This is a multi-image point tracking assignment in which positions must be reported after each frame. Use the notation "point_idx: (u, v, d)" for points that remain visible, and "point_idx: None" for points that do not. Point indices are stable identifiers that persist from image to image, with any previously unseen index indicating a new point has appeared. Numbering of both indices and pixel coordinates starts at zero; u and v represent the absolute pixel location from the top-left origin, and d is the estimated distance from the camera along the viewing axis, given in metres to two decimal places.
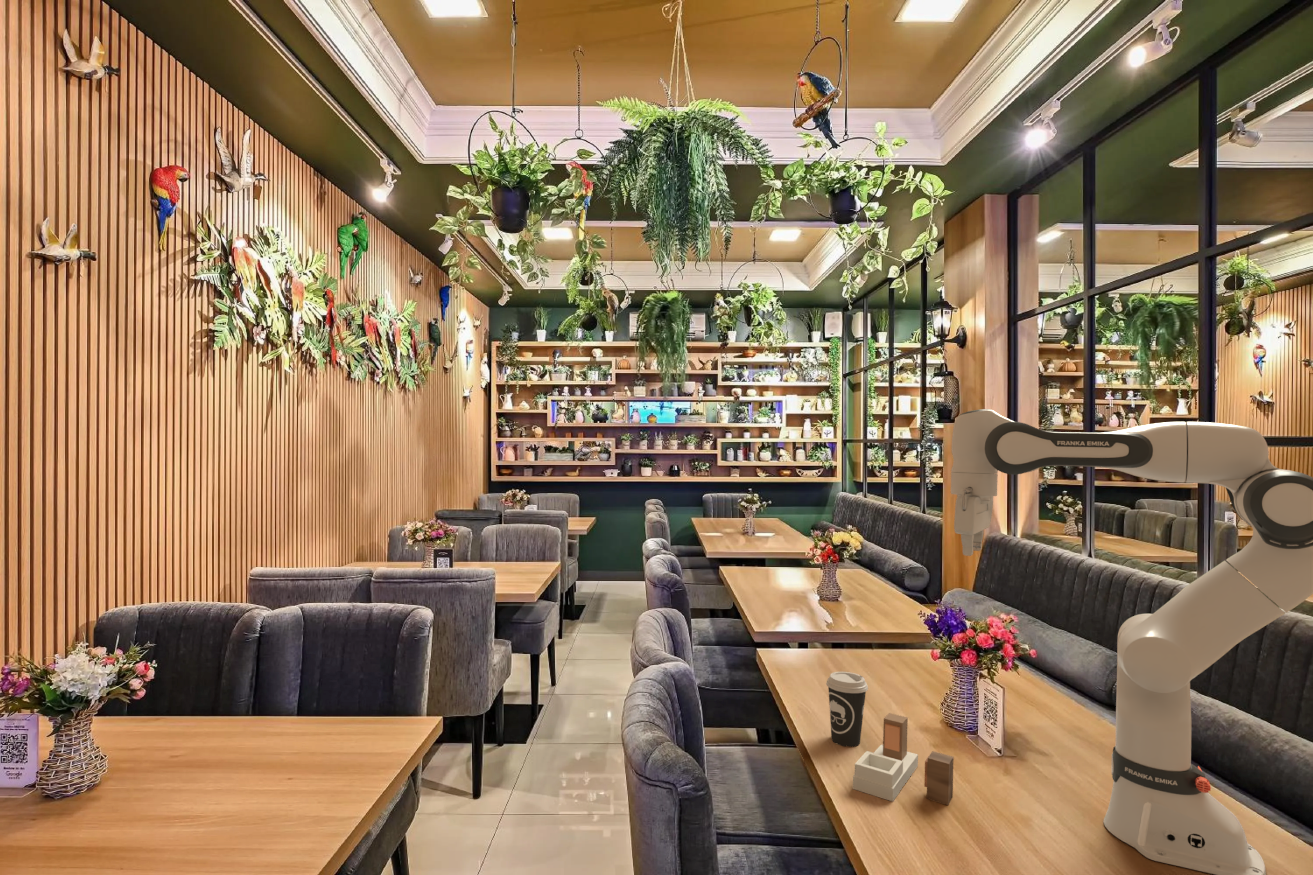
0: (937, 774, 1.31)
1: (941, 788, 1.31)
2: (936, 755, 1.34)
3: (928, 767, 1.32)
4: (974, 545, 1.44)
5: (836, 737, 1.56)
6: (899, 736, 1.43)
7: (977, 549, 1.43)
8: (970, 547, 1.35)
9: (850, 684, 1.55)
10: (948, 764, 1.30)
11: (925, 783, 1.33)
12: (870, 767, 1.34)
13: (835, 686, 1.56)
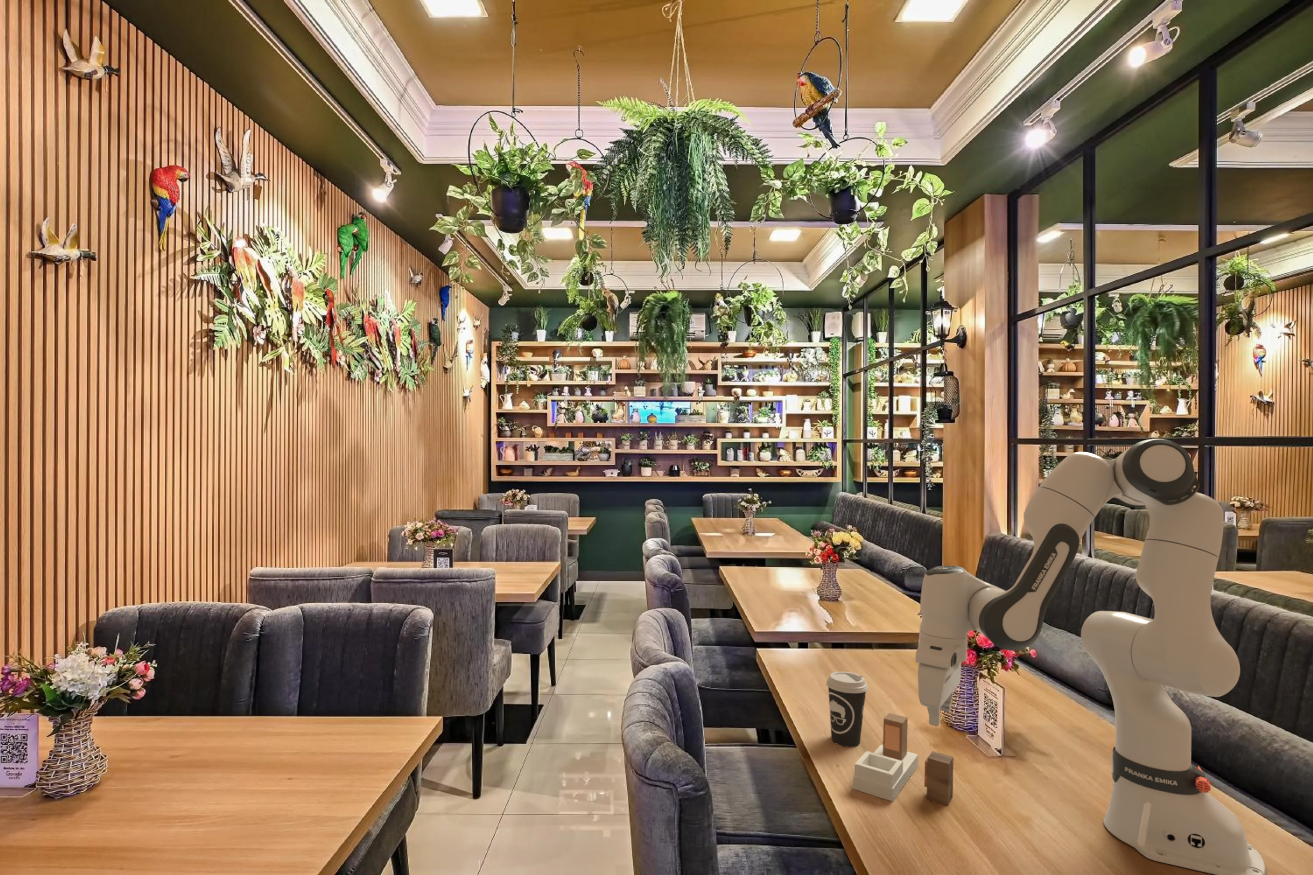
0: (937, 774, 1.31)
1: (941, 788, 1.31)
2: (936, 755, 1.34)
3: (928, 767, 1.32)
4: None
5: (836, 737, 1.56)
6: (899, 736, 1.43)
7: None
8: None
9: (850, 684, 1.55)
10: (948, 764, 1.30)
11: (925, 783, 1.33)
12: (870, 767, 1.34)
13: (835, 686, 1.56)
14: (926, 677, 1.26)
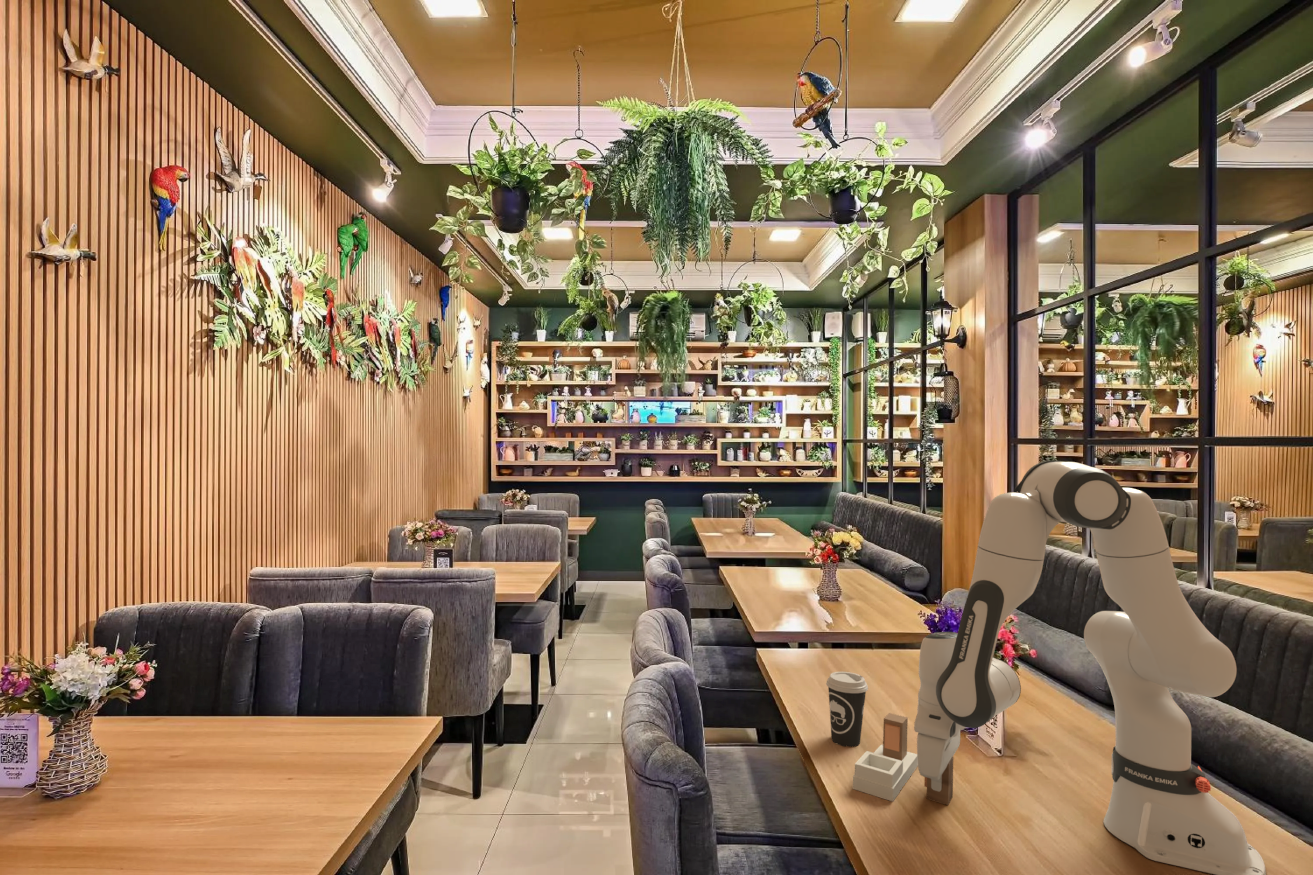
0: None
1: None
2: None
3: None
4: None
5: (836, 737, 1.56)
6: (899, 736, 1.43)
7: None
8: None
9: (850, 684, 1.55)
10: (948, 764, 1.30)
11: (925, 783, 1.33)
12: (870, 767, 1.34)
13: (835, 686, 1.56)
14: (926, 748, 1.26)
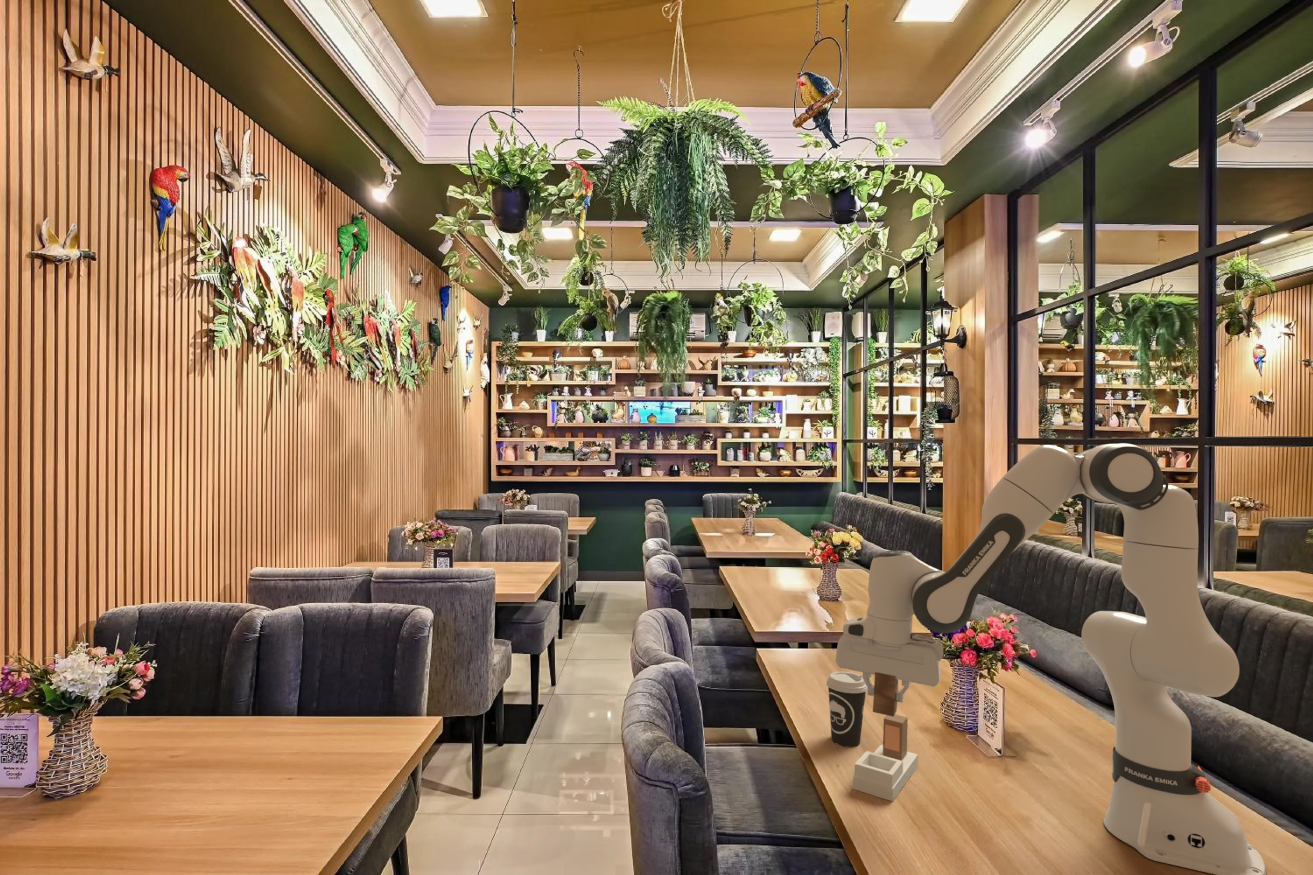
0: None
1: None
2: None
3: None
4: None
5: (836, 737, 1.56)
6: (899, 736, 1.43)
7: None
8: None
9: (850, 684, 1.55)
10: (875, 673, 1.36)
11: None
12: (870, 767, 1.34)
13: (835, 686, 1.56)
14: None
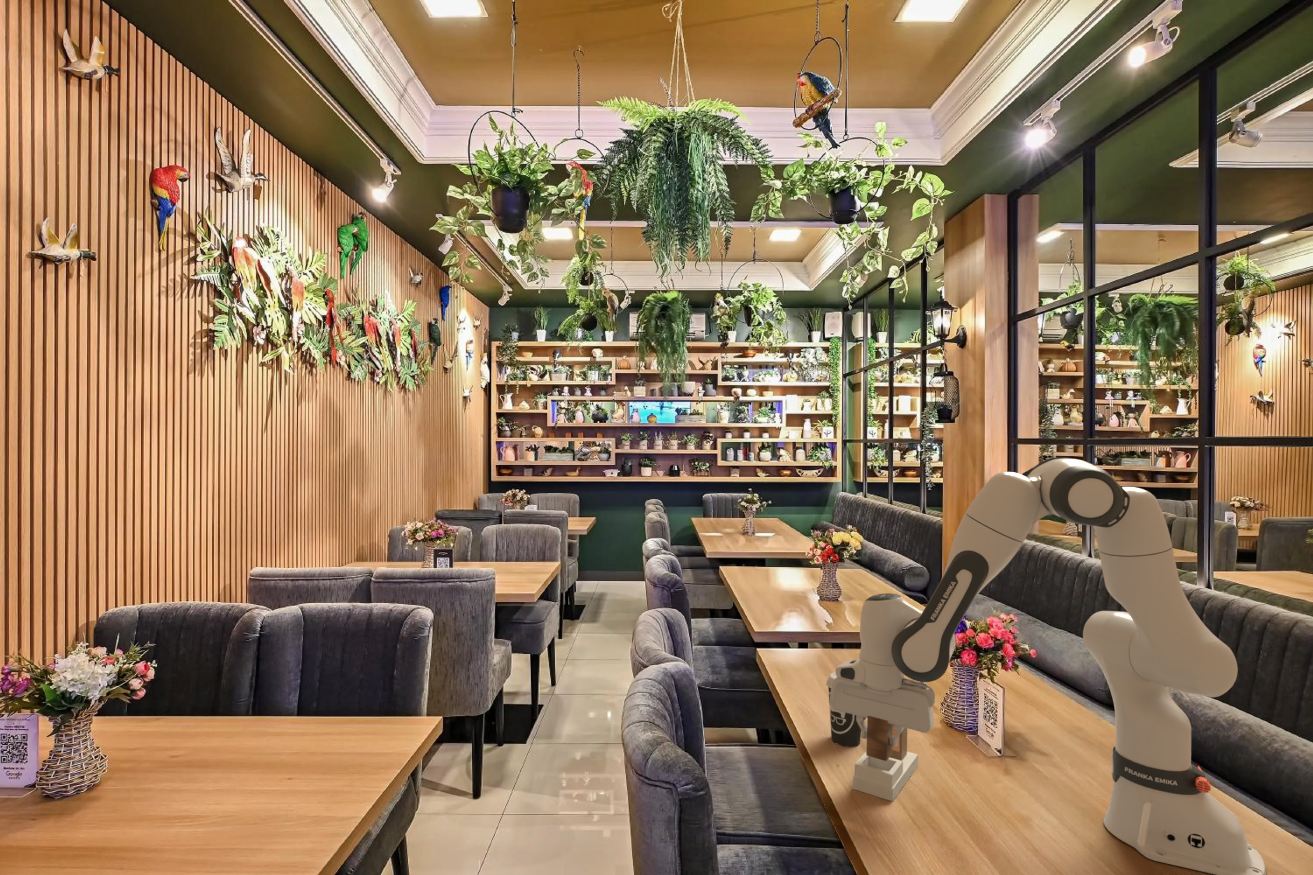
0: None
1: None
2: None
3: None
4: None
5: (836, 737, 1.56)
6: (899, 736, 1.43)
7: None
8: (898, 736, 1.35)
9: None
10: (868, 716, 1.36)
11: None
12: (870, 767, 1.34)
13: None
14: None
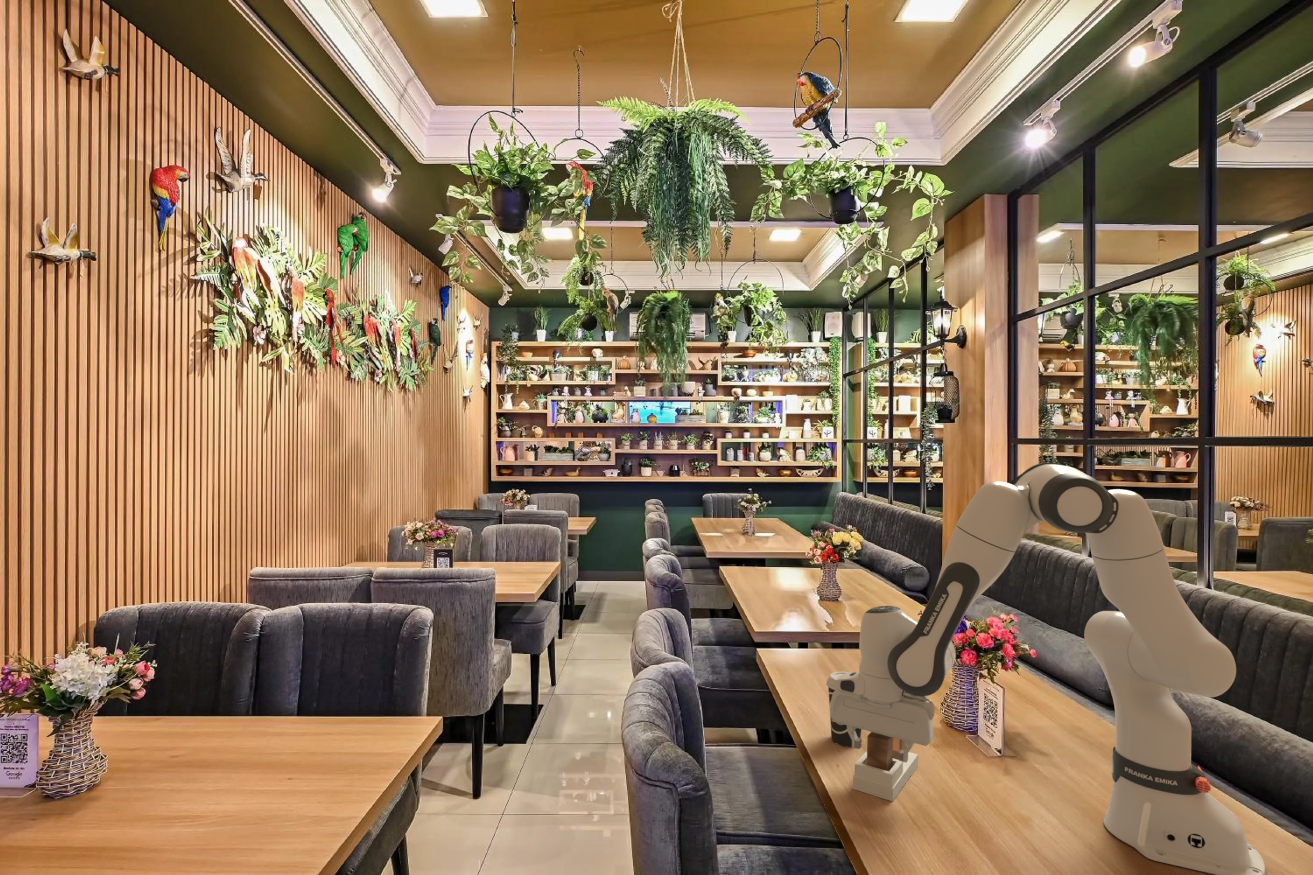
0: None
1: None
2: None
3: None
4: (859, 743, 1.39)
5: (836, 737, 1.56)
6: None
7: (860, 746, 1.39)
8: None
9: None
10: (868, 736, 1.36)
11: None
12: (870, 767, 1.34)
13: (835, 686, 1.56)
14: None
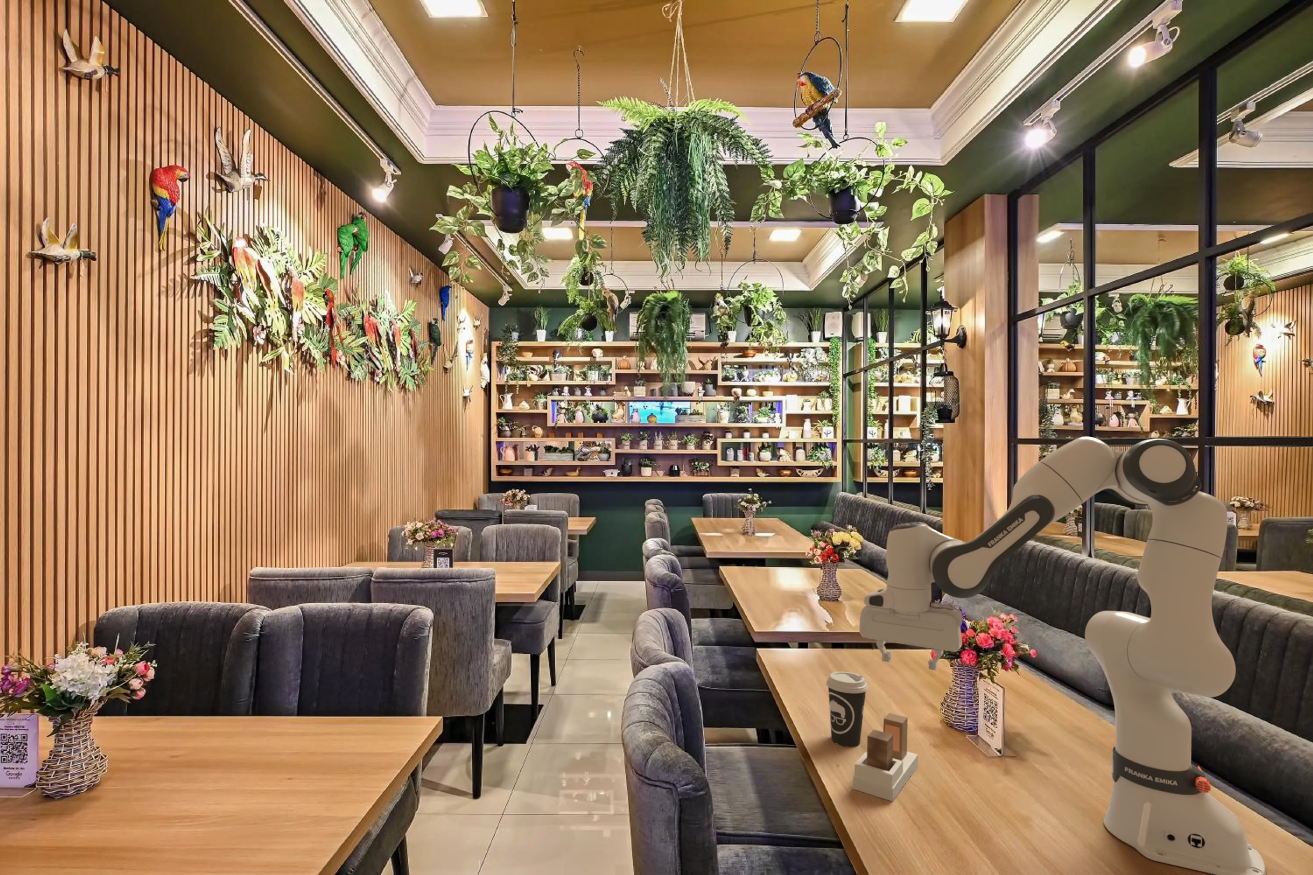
0: None
1: None
2: (882, 734, 1.37)
3: None
4: (889, 656, 1.43)
5: (836, 737, 1.56)
6: (899, 736, 1.43)
7: (890, 659, 1.43)
8: (937, 660, 1.38)
9: (850, 684, 1.55)
10: (868, 736, 1.36)
11: None
12: (870, 767, 1.34)
13: (835, 686, 1.56)
14: None
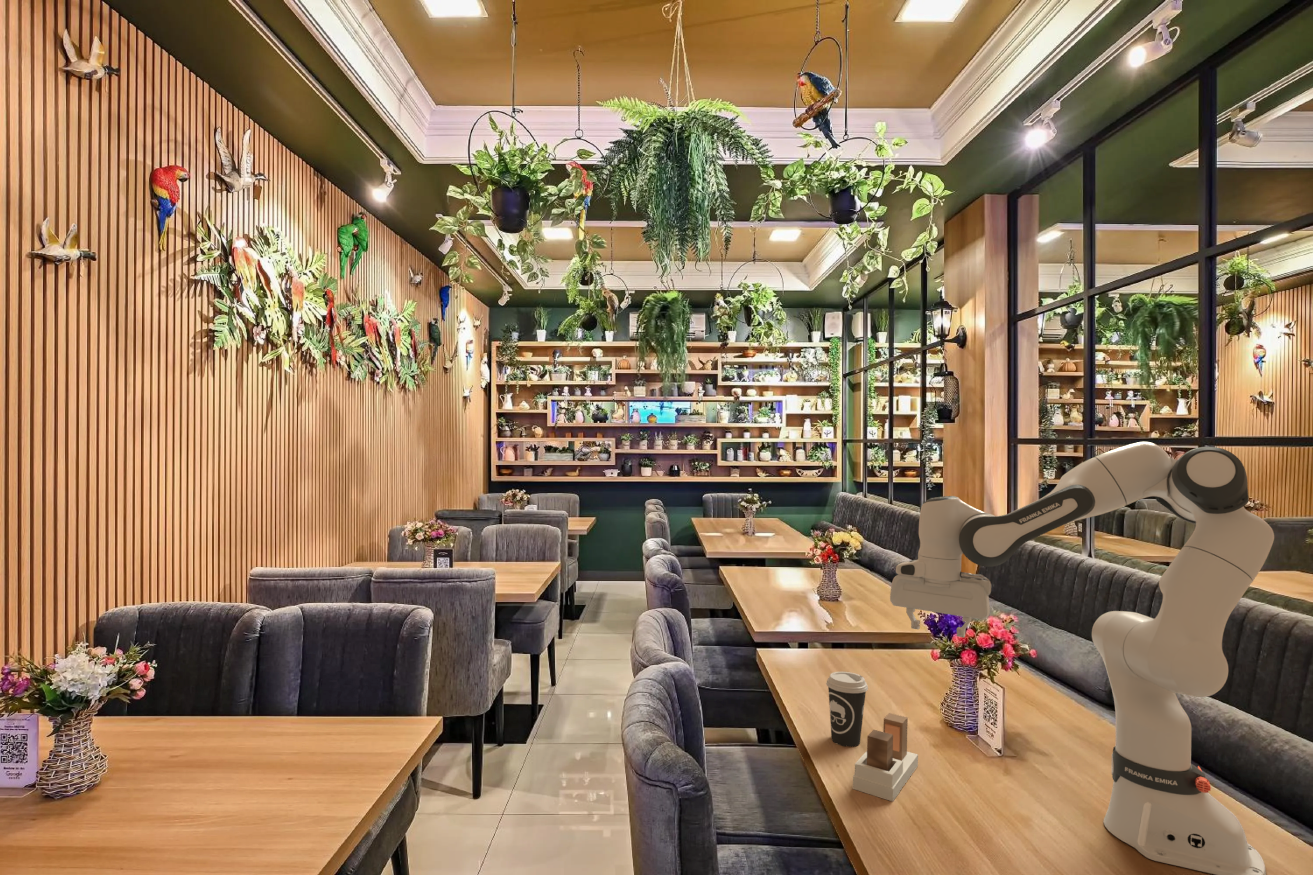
0: None
1: None
2: (882, 734, 1.37)
3: None
4: (918, 624, 1.49)
5: (836, 737, 1.56)
6: (899, 736, 1.43)
7: (919, 627, 1.50)
8: (965, 628, 1.45)
9: (850, 684, 1.55)
10: (868, 736, 1.36)
11: None
12: (870, 767, 1.34)
13: (835, 686, 1.56)
14: None
